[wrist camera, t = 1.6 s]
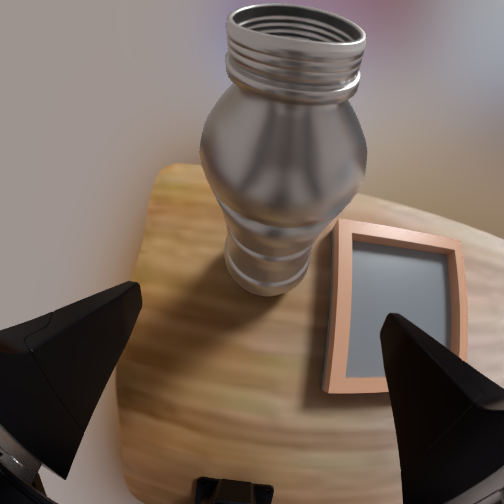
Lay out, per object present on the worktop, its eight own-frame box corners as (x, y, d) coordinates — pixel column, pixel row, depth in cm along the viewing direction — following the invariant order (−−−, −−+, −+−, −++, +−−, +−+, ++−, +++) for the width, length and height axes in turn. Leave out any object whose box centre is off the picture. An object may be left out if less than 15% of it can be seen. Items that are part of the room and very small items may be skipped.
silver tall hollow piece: (248, 219, 25) (241, -12, 6) (315, 250, 24) (419, 36, 5) (213, 279, 23) (112, 53, 4) (285, 315, 22) (422, 132, 3)
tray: (450, 381, 19) (464, 381, 17) (320, 389, 20) (328, 393, 18) (448, 248, 24) (460, 240, 22) (331, 229, 25) (338, 218, 23)
